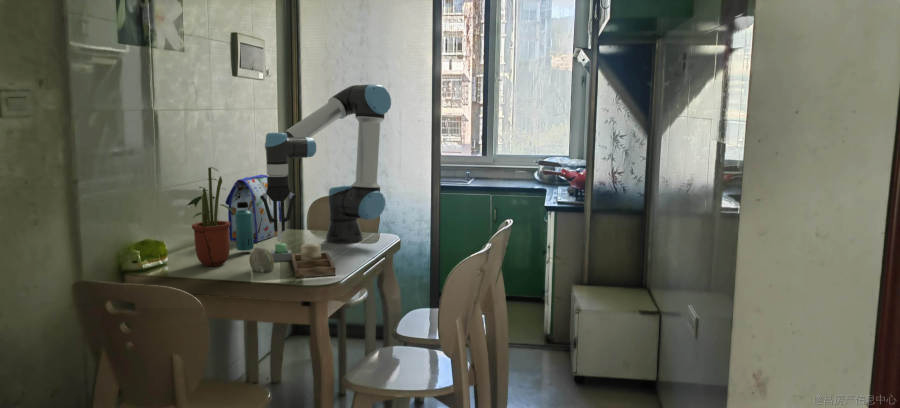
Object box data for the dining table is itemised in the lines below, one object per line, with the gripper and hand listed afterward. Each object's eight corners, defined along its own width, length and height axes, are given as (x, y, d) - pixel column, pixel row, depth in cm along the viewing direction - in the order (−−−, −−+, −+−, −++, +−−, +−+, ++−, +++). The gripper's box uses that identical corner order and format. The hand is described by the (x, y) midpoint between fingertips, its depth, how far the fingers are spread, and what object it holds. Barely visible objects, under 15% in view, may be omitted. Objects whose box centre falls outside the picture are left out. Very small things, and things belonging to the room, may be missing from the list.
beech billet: (320, 259, 252) (319, 243, 251) (322, 264, 245) (321, 247, 244) (300, 261, 250) (300, 244, 249) (301, 265, 243) (301, 248, 242)
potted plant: (200, 260, 256) (194, 166, 251) (243, 259, 257) (238, 165, 252) (185, 272, 239) (178, 171, 234) (231, 271, 240) (225, 170, 235)
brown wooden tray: (328, 260, 255) (327, 252, 255) (335, 276, 231) (335, 267, 231) (291, 262, 252) (291, 254, 251) (295, 279, 228) (295, 270, 228)
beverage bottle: (249, 254, 266) (246, 203, 263) (233, 254, 267) (230, 202, 265) (257, 251, 272) (254, 200, 270) (241, 250, 274) (239, 200, 271)
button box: (290, 258, 259) (290, 249, 258) (291, 262, 252) (291, 253, 251) (271, 259, 257) (271, 250, 256) (272, 264, 250) (271, 254, 250)
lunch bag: (251, 232, 314) (248, 173, 310) (285, 233, 310) (282, 173, 306) (223, 242, 292) (220, 178, 288) (259, 243, 288) (256, 179, 284)
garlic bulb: (270, 281, 234) (272, 256, 230) (245, 278, 234) (246, 253, 229) (276, 267, 243) (278, 242, 239) (251, 264, 242) (253, 239, 238)
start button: (286, 253, 256) (286, 243, 256) (287, 255, 253) (286, 245, 252) (275, 254, 255) (275, 243, 255) (275, 256, 252) (275, 245, 251)
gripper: (295, 174, 255) (297, 237, 258) (258, 175, 252) (261, 239, 255) (296, 176, 248) (298, 241, 251) (258, 177, 245) (261, 243, 248)
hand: (279, 240), depth 253 cm, fingers closed
